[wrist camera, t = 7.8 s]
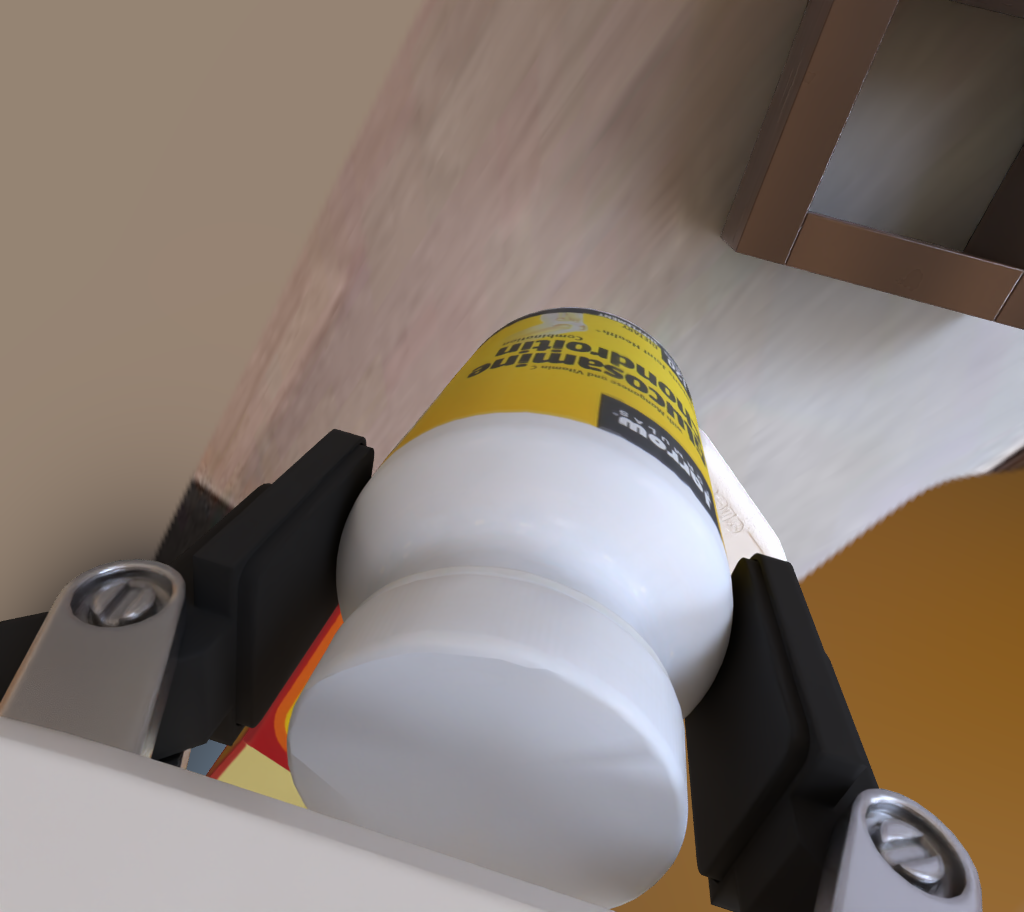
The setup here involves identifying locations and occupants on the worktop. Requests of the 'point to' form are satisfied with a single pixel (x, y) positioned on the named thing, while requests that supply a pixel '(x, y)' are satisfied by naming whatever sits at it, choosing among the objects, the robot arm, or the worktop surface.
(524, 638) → the pill bottle
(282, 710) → the baking soda box
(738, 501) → the soap
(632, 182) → the worktop surface
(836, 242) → the brown divided wooden tray
